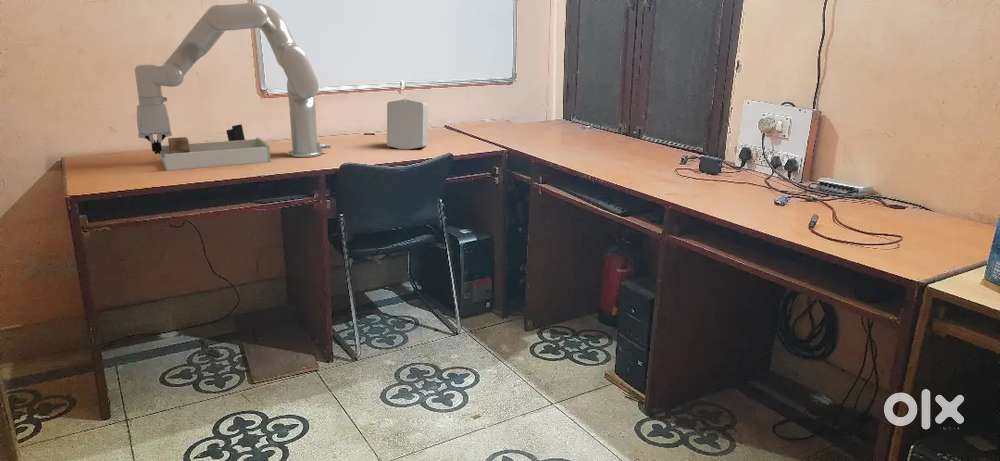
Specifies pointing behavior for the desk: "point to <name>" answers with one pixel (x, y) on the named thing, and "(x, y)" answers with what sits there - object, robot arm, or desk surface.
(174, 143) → the block
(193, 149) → the shallow grey tray
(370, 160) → the desk surface
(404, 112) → the grey upright faceted block
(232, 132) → the speaker
